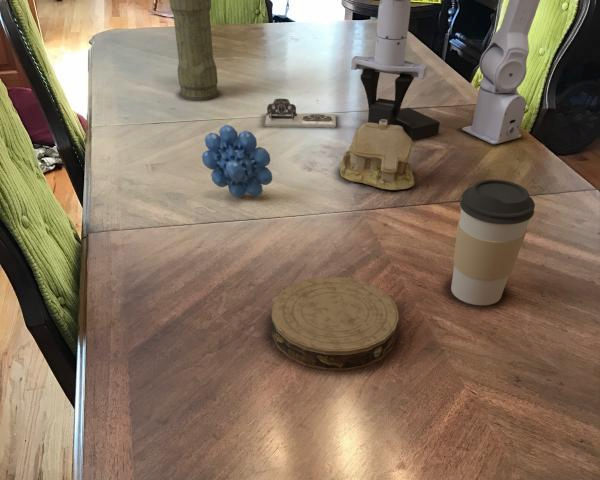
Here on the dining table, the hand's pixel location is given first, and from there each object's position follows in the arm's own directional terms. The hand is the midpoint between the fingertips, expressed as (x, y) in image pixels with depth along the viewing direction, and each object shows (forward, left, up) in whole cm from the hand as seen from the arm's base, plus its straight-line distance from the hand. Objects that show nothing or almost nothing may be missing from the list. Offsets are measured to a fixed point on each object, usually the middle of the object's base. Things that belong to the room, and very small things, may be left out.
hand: (384, 112), depth 123 cm
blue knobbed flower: (-10, +39, -5) cm, 40 cm away
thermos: (+43, +21, -5) cm, 48 cm away
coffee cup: (-52, +24, -5) cm, 57 cm away
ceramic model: (-15, +13, -5) cm, 20 cm away
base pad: (0, -7, -5) cm, 9 cm away
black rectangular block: (0, 0, -1) cm, 1 cm away
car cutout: (+16, +10, -5) cm, 19 cm away
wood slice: (-49, +46, -5) cm, 67 cm away
